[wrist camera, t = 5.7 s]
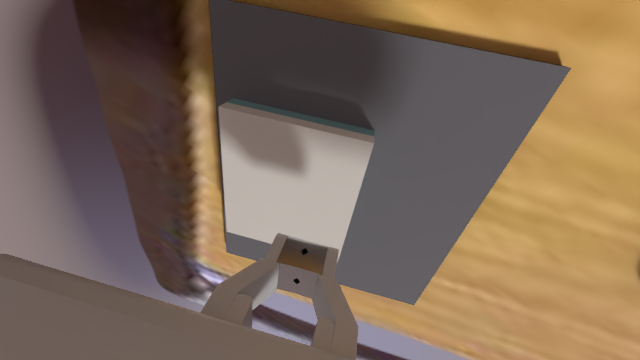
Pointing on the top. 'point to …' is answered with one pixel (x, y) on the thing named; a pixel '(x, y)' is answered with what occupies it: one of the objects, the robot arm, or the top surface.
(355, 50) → the mat
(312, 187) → the tile
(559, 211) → the top surface
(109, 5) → the top surface
